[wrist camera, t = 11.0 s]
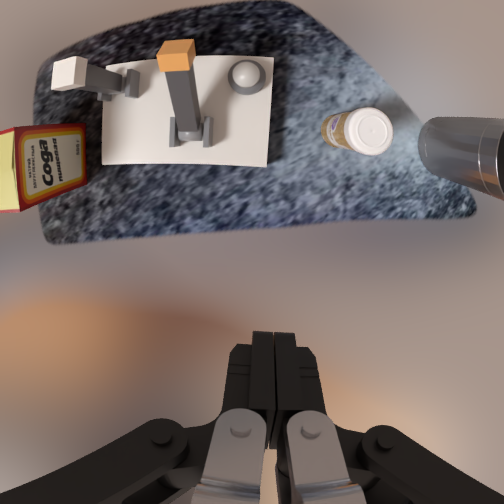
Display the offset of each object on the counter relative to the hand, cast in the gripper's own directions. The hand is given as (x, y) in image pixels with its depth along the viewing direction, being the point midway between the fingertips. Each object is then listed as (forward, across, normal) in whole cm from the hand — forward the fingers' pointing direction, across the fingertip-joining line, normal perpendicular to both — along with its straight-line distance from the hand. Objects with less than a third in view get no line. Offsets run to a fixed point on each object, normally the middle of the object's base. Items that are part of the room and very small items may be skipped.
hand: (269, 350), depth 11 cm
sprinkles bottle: (+31, -9, -9) cm, 34 cm away
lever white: (+27, +19, -14) cm, 36 cm away
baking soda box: (+31, +30, -5) cm, 44 cm away
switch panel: (+31, +11, -10) cm, 34 cm away
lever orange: (+27, +9, -7) cm, 29 cm away
